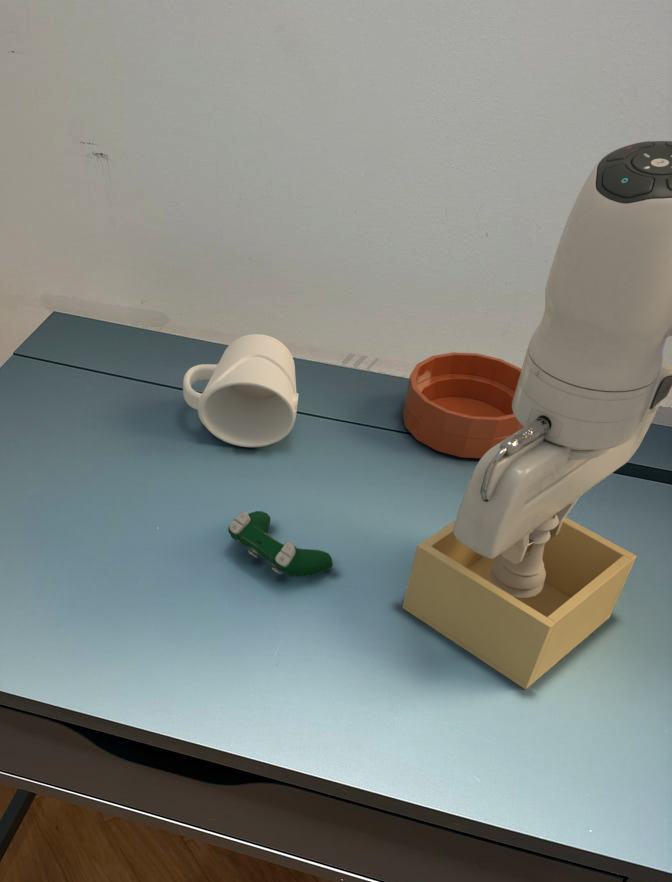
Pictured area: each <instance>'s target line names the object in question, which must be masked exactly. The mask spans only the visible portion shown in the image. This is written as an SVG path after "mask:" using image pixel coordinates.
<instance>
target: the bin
mask: <svg viewBox="0 0 672 882" xmlns="http://www.w3.org/2000/svg"><path fill="white" fill-rule="evenodd" d="M454 523H455V520H453V521H452V522H450V523H449V524H448V525H446V526H444V527H443V528H441V529H440V530H438V531H437V532H435V533H433V535H431V536H430V537H428V538H426V539H425V540H424V541H422V542H421V543H418V544H417V545H416V549H415V553H414V557H413V563H412V566H411V570H410V574H409V578H408V583H407V588H406V591H405V595H404V599H403V604H402V606H401V607H402V609H403V610H405V611H406V612H408V613H409V614H411V615H412V616H414V617H415V618H417V619H419V620H420V621H421V622H423V623H424V624H426V625H427V626H428V627H431V628H432V629H433V630H435V631H436V632H438V633H439V634H440V635H442V636H444V637H445V638H447V639H448V640H450V641H451V642H453V643H455V644H456V645H457V646H459V647H461V648H462V649H463V650H465V651H466V652H468V653H469V654H471V655H472V656H474V657H476V658H477V659H478V660H480V661H481V662H483V663H485V664H486V665H487V666H489V667H490V668H492V669H493V670H495V671H497V672H498V673H500V674H501V675H502V676H504V677H506V678H507V679H508V680H510V681H511V682H513V683H514V684H517V685H518V686H519V687H521V688H523V690H528V688H530V687H531V686H532V685H533V684H534V683H535V682H537V680H539V679H540V678H541V677H542V676H543V675H544V674H546V673H547V672H548V671H549V670H551V668H553V667H554V666H555V665H556V664H557V663H559V662H560V661H561V660H562V659H563V658H564V657H566V656H567V655H568V654H569V653H570V652H571V651H573V650H574V649H575V648H576V647H577V646H578V645H580V644H581V643H582V642H583V641H585V640H586V639H587V638H588V637H589V636H590V635H591V634H593V633H594V632H595V631H596V630H597V629H598V628H600V627H601V625H603V624H604V623H606V621H608V620H609V619H610V617H611V615H612V613H613V610H614V608H615V606H616V604H617V602H618V600H619V597H620V595H621V592H622V590H623V588H624V586H625V584H626V582H627V579H628V577H629V575H630V573H631V570H632V569H633V566H634V563H635V562H636V559H637V555H635V554H634V553H632V552H630V551H628V550H627V549H625V548H623V547H621V546H619V545H617V544H616V543H614V542H612V541H610V540H608V539H606V538H605V537H603V536H601V535H599V534H597V533H595V532H594V531H592V530H590V529H588V528H586V527H585V526H582V525H581V524H579V523H577V522H575V521H573V520H571V519H570V518H568V517H566V518H565V519H564V520H563V523H562V526H561V528H560V531H559V533H558V534H557V535H556V536H555V537H553V538H552V539H550V540H549V541H547V542H546V543H545V545H544V550H543V556H542V560H543V563H544V568H545V571H546V577H545V581H544V585H543V589H542V591H541V592H540V593H538V594H537V595H536V596H533V597H531V598H527V599H516V598H515V597H513V596H511V595H510V594H508V593H506V592H505V591H503V590H501V589H500V588H498V587H497V586H495V585H493V584H492V583H491V580H490V577H489V574H490V572H491V569H492V568H493V565H494V562H495V560H496V559H497V558H498V557H500V556H501V554H500V555H498V556H497V557H495V558H493V559H488V558H485V557H483V556H481V555H480V554H478V553H476V552H474V551H473V550H471V549H469V548H468V547H466V546H465V545H463V544H462V543H460V542H459V541H458V540H457V539H456V537H455V535H454V533H453V527H454Z"/></svg>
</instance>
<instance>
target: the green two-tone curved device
mask: <svg viewBox="0 0 672 882" xmlns="http://www.w3.org/2000/svg"><path fill="white" fill-rule="evenodd" d="M271 520H272V519H271V516H270V514H268V513H267V512H265V511H262V510H255V511H252V512H250V513H249V512H247V511H242V512H240V513H239V514H238V515H236V517H234V519H233V520H232V521H231V522H230V524H229V526H228V529H227V531H228V534H230V537H231V538H232V539H233V540H235V541H237V542H238V543H240V544H242V545H243V546H244V547H246V548H248V549H249V550H248V554H249V555H251V556H253V557H254V558H256V559H258V558H259V557H261V558H262V559H264V560H265V561H267V562H269V563H270V564H271V565H272V566H271V570H272V571H273V572H275V573H277V574H279V575H282V574H283V573H285V574H286V575H287V576H288V577H291V578H293V577H296V578H298V577H299V578H303V577H311V576H315V575H318V574H321V573H323V572H326V571H328V570H330V569H332V568H333V566H334V562H333V558H332V556H331V555H330V553H328V552H326V551H323V550H320V549H310V548H309V549H308V548H299V547H296V545H295V544H294V543H293V542H292V541H286V543H285V544H283V543H281V542H280V541H279V540H277V539H276V538H274V537H272V536H271V535H269V534H267V532H268V530H269V528H270V525H271Z"/></svg>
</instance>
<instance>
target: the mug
mask: <svg viewBox="0 0 672 882" xmlns="http://www.w3.org/2000/svg"><path fill="white" fill-rule="evenodd" d="M295 366H296V365H295V360H294V357H293V355H292V353H291V351H290V350H289V349H288V347H287V346H286V345H285V344H284V343H282V342H281V341H280V340H279V339H277V338H275V337H272V336H269V335H266V334H262V333H261V334H260V333H259V334H258V333H252V334H245V335H243V336H240V337H238V338H237V339H235V340H234V341H232V342H231V343H230V344H229V345H228V346H227V347H226V349H225V350H224V352H223V354H222V356H221V358H220V359H219V362H218V363H215V364H212V363H207V364H205V363H202V364H197V365H194V366H191V367H190V368H188V370H187V371H186V372H185V374H184V376H183V380H182V395H183V396H182V397H183V399H184V401H185V403H186V404H187V405H188V406H189V407H190V408H192V409H194V410H197V415H198V418H199V421H200V422H201V423H202V424H203V426H204V427H205V428H206V429H207V430H208V432H210V433H211V434H212V435H213V436H215V437H216V438H217V439H219V440H221V441H223V442H225V443H228V444H230V445H233V446H237V447H243V448H261V447H268V446H271V445H273V444H277V443H278V442H280V441H281V440H283V439H285V438H286V437H287V436H288V435H289V434H290V433H291V431H293V427H294V425H295V421H296V419H297V411H298V404H299V393H298V392H297V381H296V380H297V379H296V367H295ZM200 382H207V384H206V386H205V388H204V390H203V392H199V391H196V390H194V388H193V387H192V386H193V385H195V384H196V383H200Z"/></svg>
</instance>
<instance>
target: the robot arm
mask: <svg viewBox="0 0 672 882" xmlns="http://www.w3.org/2000/svg"><path fill="white" fill-rule="evenodd" d="M563 227H564V228H563V229H562V233H561V235H560V238H559V241H558V243H557V247H556V250H555V253H554V256H553V259H552V262H551V266H550V269H549V272H548V276H547V280H546V284H545V289H544V312H543V314H542V318H541V320H540V323H539V324H538V326H537V327H536V328H535V330H534V332H533V333H532V334H531V337H530V339H529V342H528V345H527V349H526V352H525V356H524V360H523V362H522V366H521V369H522V370H521V373H520V377H519V380H518V383H517V387H516V390H515V394H514V397H513V401H512V410H513V413H514V415H515V417H516V419H517V420H518V421H519V423H520V424H521V425H522V426H523V428H522V429H521V430H519V431H518V432H516V433H514V434H513V435H511V436H509V437H507V438H506V439H505V440H503V441H502V442H500V443H499V444H497V445H495V446H494V447H492V448H491V449H490V450H489V451H487V452H486V453H485V454H484V456H483V457H482V458H479V461H478V462H477V464H476V466H475V468H474V470H473V471H472V474H471V476H470V479H469V480H468V483H467V486H466V488H465V492H464V494H463V497H462V499H461V503H460V505H459V508H458V511H457V515H456V517H455V520H454V521H455V523H454V527H453V533H454V535H455V537H456V539H457V540H458V541H459V542H460V543H462V544H463V545H465V546H466V547H468V548H469V549H471V550H473V551H474V552H476V553H478V554H480V555H481V556H483V557H485V558H488V559H493V558H495V557H497V556H498V555H500V554H501V555H502V556H503V557H504V558H505V559H507V560H509V561H510V562H512V563H514V564H518V563H520V562H521V561H522V560H524V559H525V558H526V557H527V556H529V555H530V552H531V551H530V550H531V549H532V547H533V544H534V541H533V540H531V539H530V538H529V533H531V532H533V531H534V529H536V528H537V527H538V526H540V525H541V524H543V523H544V522H545V521H547V520H548V519H549V518H551V517H552V516H554V515H555V514H556V513H557V514H556V515H557V517H558V520H559V522H558V526H556V527H555V528H554V529H552V530H550V531H549V532H550V535H551V536H550V539H552V538H553V537H555V536H556V535H557V534H558V533H559V531H560V528H561V526H562V523H563V520H564V519H565V518H567V516H568V515H569V513H570V512H571V510H572V509H573V508H574V507H575V505H576V504H577V502H578V501H579V499H580V497H582V495H584V494H585V493H587V492H588V491H590V490H592V488H594V487H595V486H597V485H598V484H599V483H600V482H602V481H603V480H605V479H606V478H608V477H609V476H610V475H611V474H613V473H614V472H616V471H617V470H619V469H620V468H621V467H623V466H624V465H626V464H627V463H628V462H629V461H630V459H631V458H632V457H633V456H634V455H635V453H636V451H637V450H638V449H639V447H640V446H641V444H642V442H643V441H644V438H645V436H646V435H647V432H648V430H649V429H650V426H651V424H652V422H653V420H654V419H655V416H656V414H657V412H658V409H659V407H660V404H661V402H662V401H663V400H664V399H666V398H668V396H669V395H670V394H671V393H672V366H671V365H669V364H667V363H665V362H663V361H664V350H665V344H666V342H667V339H668V338H669V337H672V140H652V141H651V140H647V141H639V142H636V143H631V144H628V145H625V146H622V147H620V148H616V149H615V150H612V151H610V152H609V153H607V154H605V155H604V156H603V157H602V158H601V159H600V160H599V161H598V162H597V163H596V164H595V165H594V167H593V169H592V170H591V172H590V173H589V174H588V176H587V178H586V180H585V181H584V183H583V185H582V187H581V189H580V191H579V192H578V195H577V196H576V199H575V200H574V203H573V206H572V208H571V210H570V212H569V214H568V217H567V219H566V222H565V225H564V226H563ZM550 539H549V540H550ZM549 540H548V541H549Z"/></svg>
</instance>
